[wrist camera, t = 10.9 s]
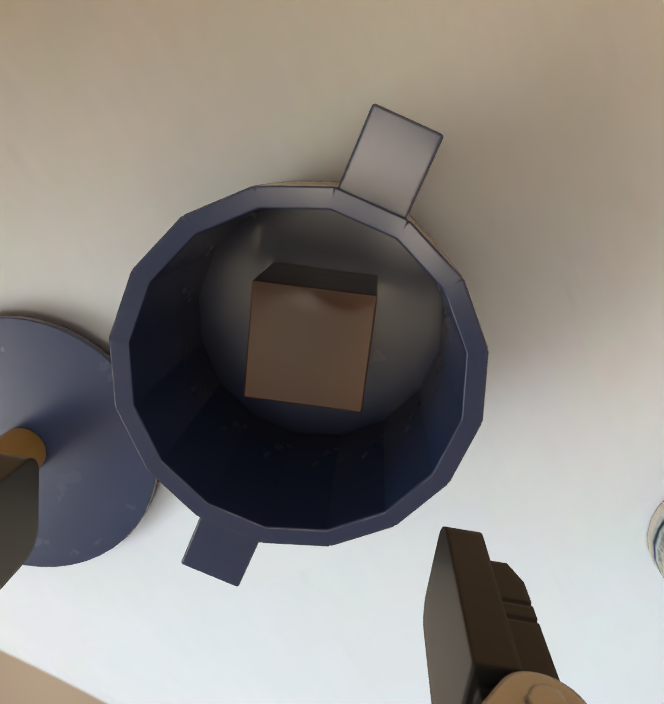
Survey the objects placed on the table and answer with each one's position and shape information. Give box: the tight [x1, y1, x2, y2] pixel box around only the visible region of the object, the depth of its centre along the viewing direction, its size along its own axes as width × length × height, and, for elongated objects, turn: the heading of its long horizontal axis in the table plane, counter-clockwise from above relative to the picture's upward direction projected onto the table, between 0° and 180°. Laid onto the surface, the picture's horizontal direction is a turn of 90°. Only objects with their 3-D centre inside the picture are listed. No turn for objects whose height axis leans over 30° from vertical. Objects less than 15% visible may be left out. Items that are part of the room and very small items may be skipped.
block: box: [244, 263, 378, 412], centre depth 27 cm, size 5×5×5 cm
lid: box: [0, 315, 157, 567], centre depth 30 cm, size 14×14×6 cm
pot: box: [109, 104, 488, 586], centre depth 25 cm, size 13×18×9 cm
